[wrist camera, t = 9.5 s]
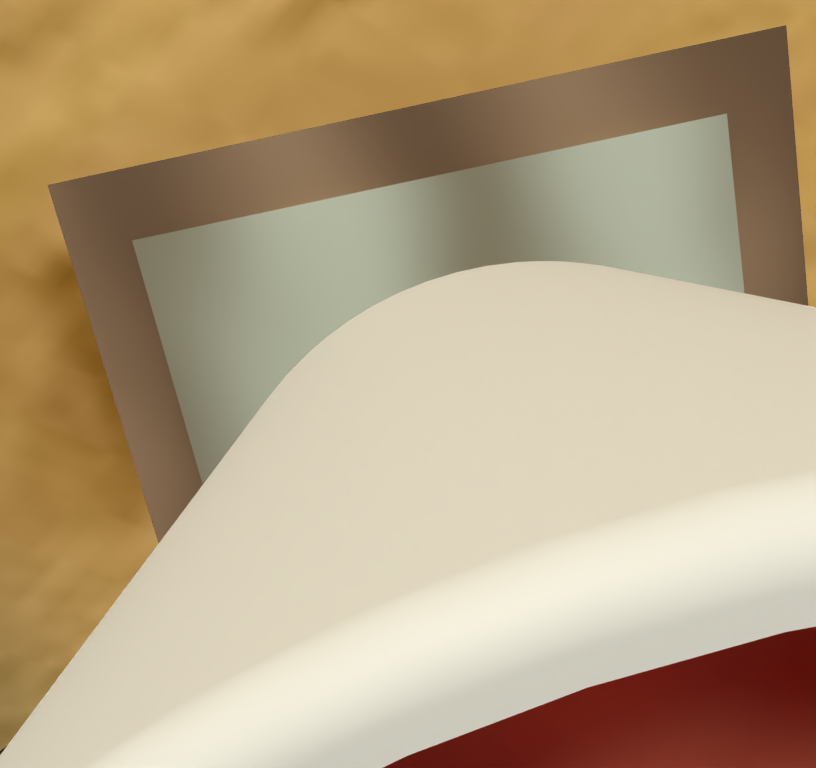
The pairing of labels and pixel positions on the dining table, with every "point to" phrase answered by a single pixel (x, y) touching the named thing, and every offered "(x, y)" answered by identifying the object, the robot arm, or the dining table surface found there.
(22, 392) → the dining table surface
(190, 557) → the cup
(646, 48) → the dining table surface
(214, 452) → the footstool
